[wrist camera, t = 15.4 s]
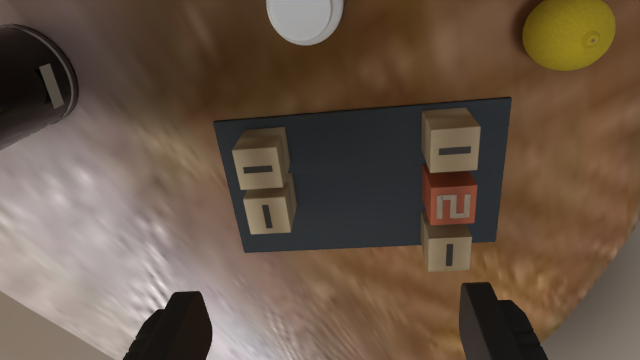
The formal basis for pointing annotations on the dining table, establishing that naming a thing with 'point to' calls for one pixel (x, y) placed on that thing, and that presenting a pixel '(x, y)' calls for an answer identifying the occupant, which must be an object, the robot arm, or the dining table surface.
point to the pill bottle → (305, 19)
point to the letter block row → (446, 156)
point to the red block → (449, 196)
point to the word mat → (365, 175)
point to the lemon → (568, 33)
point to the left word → (266, 180)
